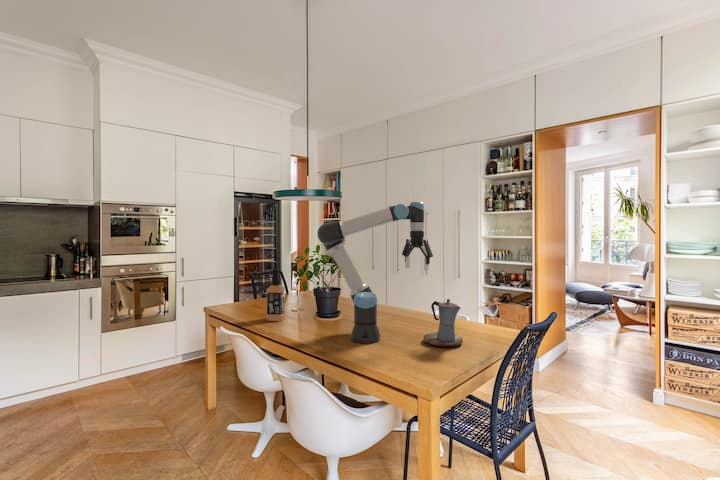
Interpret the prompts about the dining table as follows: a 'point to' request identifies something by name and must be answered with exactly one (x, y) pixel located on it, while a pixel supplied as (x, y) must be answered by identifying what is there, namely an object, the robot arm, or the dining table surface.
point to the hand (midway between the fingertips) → (416, 269)
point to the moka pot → (446, 320)
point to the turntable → (432, 339)
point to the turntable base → (442, 346)
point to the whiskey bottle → (275, 299)
